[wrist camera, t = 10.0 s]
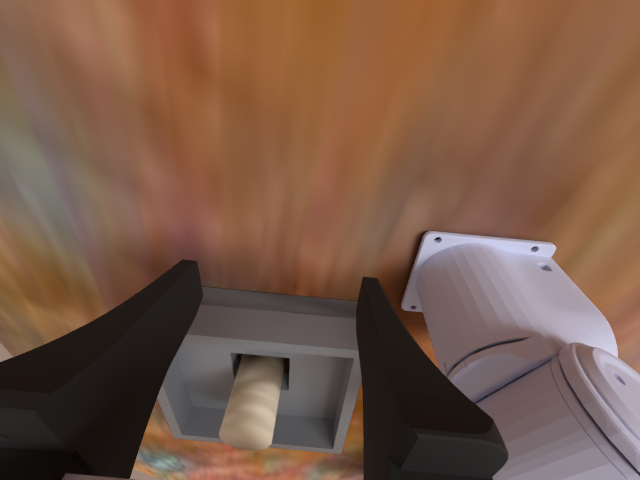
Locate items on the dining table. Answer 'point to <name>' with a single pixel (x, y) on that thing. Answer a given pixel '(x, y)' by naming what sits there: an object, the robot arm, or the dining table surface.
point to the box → (277, 341)
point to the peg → (253, 403)
